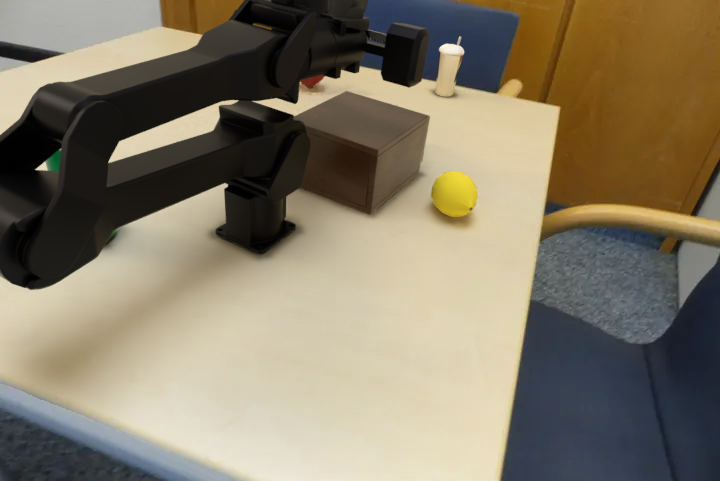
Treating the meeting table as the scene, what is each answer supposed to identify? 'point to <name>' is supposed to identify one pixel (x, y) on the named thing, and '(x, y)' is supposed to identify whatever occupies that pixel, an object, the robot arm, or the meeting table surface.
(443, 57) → the milkshake
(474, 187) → the lemon
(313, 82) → the onion
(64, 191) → the robot arm
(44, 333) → the meeting table surface
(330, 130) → the cabinet
